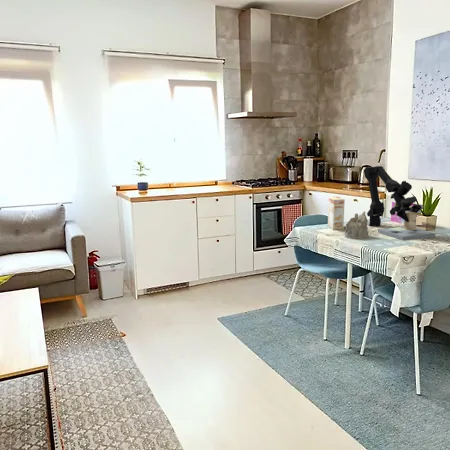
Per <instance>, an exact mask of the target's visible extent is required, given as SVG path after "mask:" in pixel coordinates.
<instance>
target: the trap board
mask: <svg viewBox="0 0 450 450" xmlns="http://www.w3.org/2000/svg"><path fill="white" fill-rule="evenodd" d="M377 233H379V234H382V235H385V236H389V237H392V238H395V239H399V240H401V241H407V240H415V239H416V240H417V239H425V238H435V237H436V233H435V232H431V231H429V230H424V229H421V228H417V227H416V230H406V229H404V226H401V227H400V226H399V227H388V228H378V229H377Z"/></svg>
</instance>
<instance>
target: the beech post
mask: <svg viewBox="0 0 450 450" xmlns="http://www.w3.org/2000/svg"><path fill="white" fill-rule="evenodd" d="M405 213H406V215H407V217H408V219H409V222H407V221H405V220H404V224H403V227H404V229H406V230H416V228H417V226H416V217H417V213H415V212H405Z"/></svg>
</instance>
